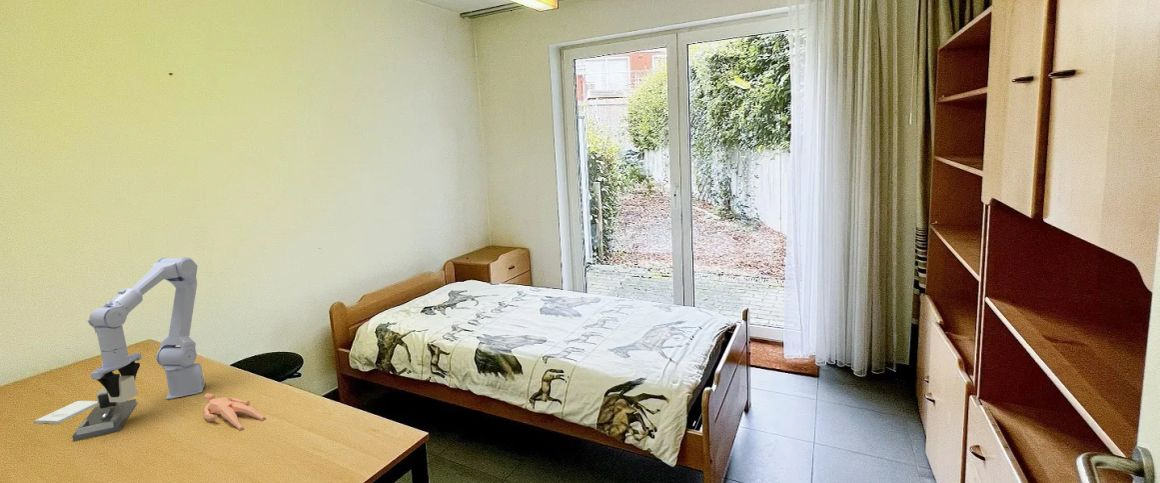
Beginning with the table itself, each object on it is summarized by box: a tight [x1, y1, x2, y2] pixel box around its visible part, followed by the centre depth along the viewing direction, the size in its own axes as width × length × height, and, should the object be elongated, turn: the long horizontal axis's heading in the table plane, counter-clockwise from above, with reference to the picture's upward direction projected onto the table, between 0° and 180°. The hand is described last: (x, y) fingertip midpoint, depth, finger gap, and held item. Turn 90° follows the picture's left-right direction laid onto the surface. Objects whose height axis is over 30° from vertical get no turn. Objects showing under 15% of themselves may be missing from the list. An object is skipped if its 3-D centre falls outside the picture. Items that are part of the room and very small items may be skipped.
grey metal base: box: [71, 387, 138, 442], centre depth 161 cm, size 10×20×8 cm, turn 27°
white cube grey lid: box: [107, 375, 138, 402], centre depth 160 cm, size 5×4×6 cm
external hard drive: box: [33, 400, 99, 425], centre depth 168 cm, size 2×8×12 cm
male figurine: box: [202, 392, 267, 431], centre depth 161 cm, size 11×5×25 cm
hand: (122, 392), depth 160 cm, fingers closed on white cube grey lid, 4 cm apart
